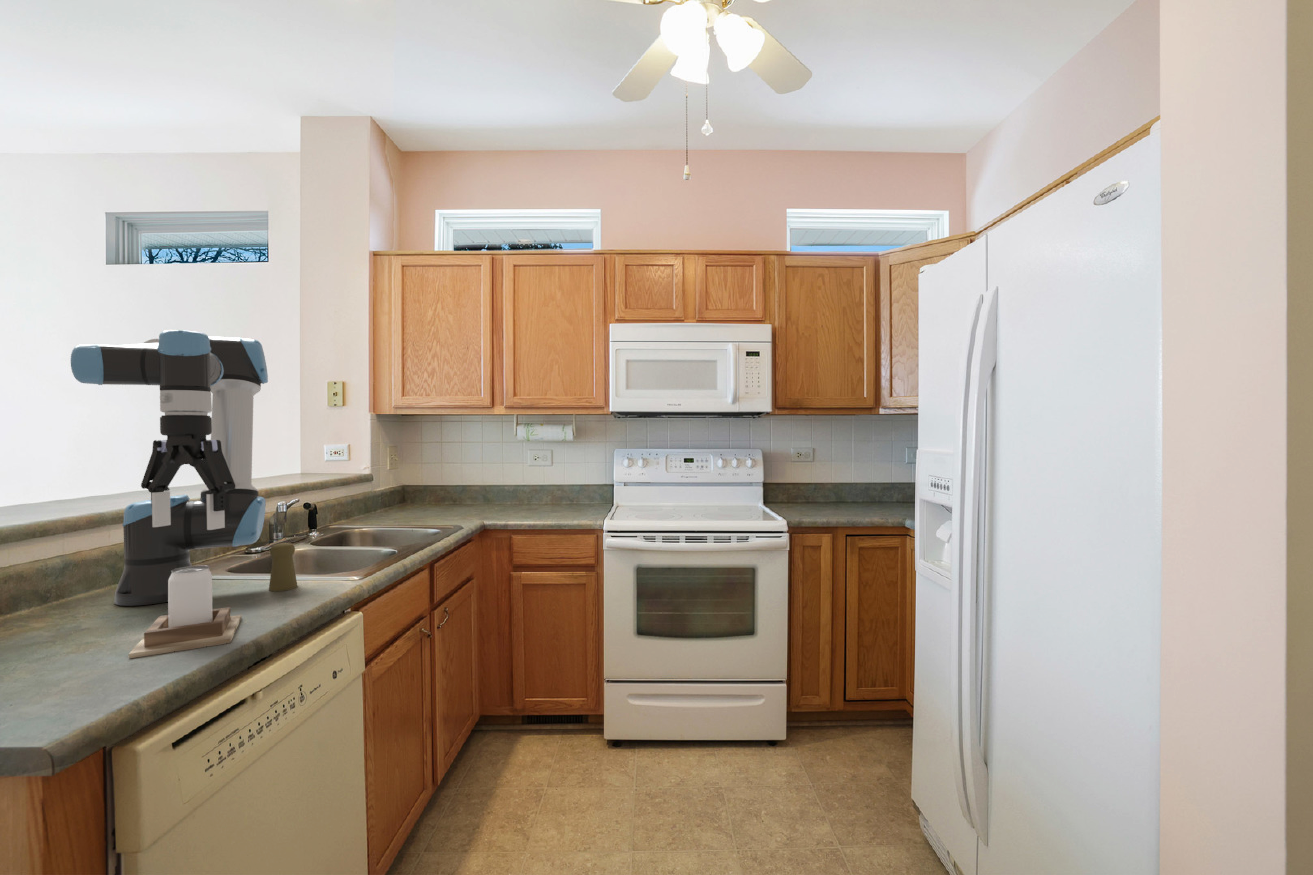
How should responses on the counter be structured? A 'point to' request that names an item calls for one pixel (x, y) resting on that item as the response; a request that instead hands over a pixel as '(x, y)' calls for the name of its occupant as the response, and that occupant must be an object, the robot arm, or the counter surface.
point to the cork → (282, 567)
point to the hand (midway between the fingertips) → (188, 527)
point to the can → (190, 596)
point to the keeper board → (187, 634)
